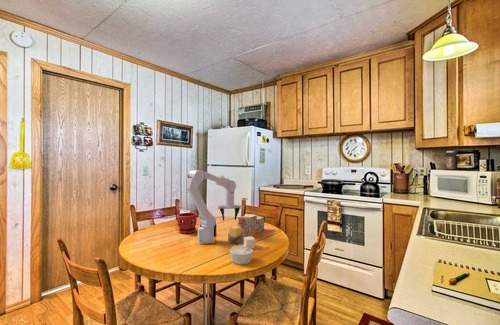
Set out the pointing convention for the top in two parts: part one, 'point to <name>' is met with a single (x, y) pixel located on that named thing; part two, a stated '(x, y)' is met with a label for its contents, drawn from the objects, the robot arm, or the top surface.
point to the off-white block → (249, 242)
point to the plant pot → (187, 222)
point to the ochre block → (235, 231)
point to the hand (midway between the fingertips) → (229, 219)
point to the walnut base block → (235, 239)
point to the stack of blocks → (250, 224)
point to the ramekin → (241, 255)
